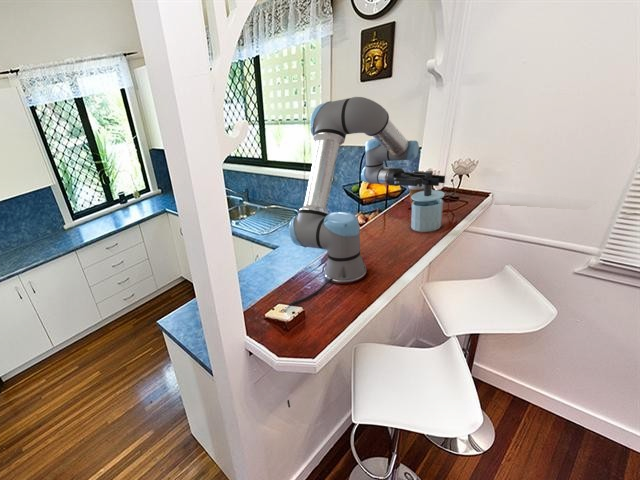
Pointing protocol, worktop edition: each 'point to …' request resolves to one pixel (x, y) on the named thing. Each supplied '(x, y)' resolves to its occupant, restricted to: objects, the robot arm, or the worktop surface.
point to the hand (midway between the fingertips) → (441, 180)
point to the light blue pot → (426, 215)
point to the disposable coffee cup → (415, 191)
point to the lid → (428, 191)
